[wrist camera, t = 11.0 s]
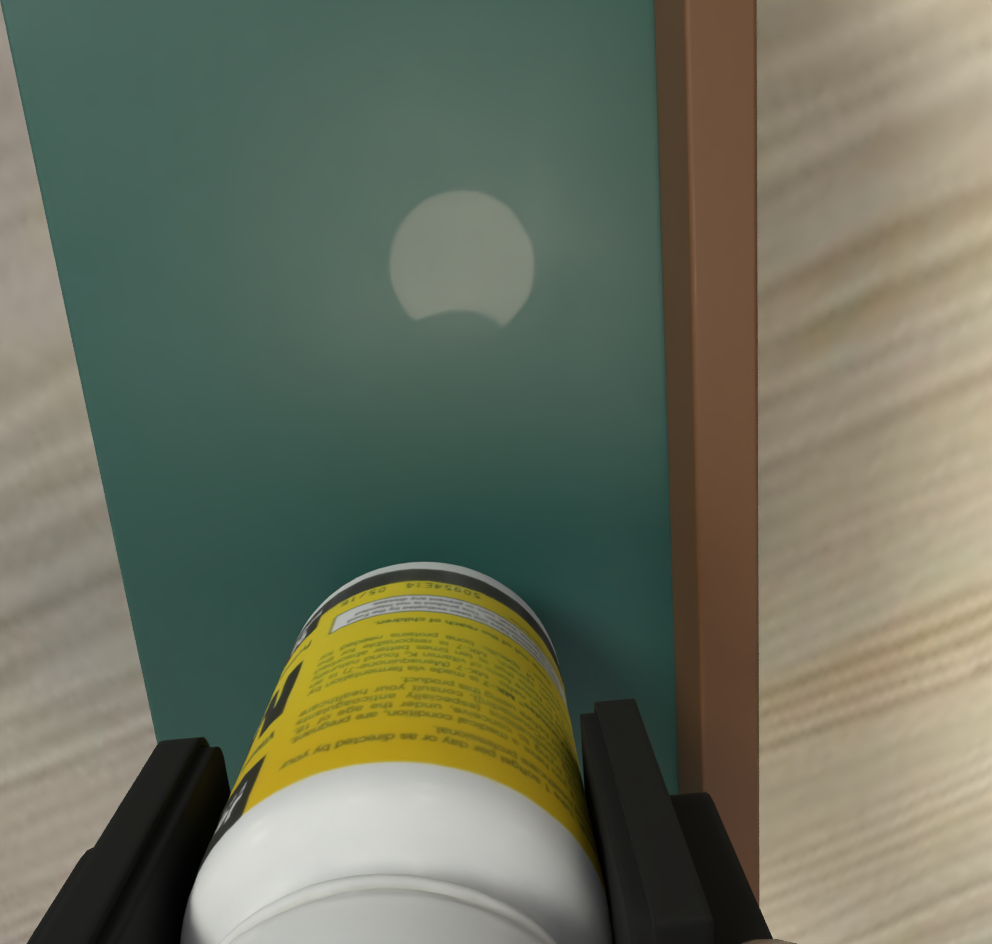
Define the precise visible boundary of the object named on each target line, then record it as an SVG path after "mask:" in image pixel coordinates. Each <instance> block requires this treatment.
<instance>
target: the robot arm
mask: <svg viewBox="0 0 992 944" xmlns="http://www.w3.org/2000/svg"><path fill="white" fill-rule="evenodd" d="M580 728H581V744H582V759H583V775H584V790H585V795H586V800H587V805H588V810H589V814H590V819H591V824H592V828H593V833H594V837H595V842H596V847H597V851H598V856H599V860H600V865H601V869H602V874H603V879H604V883H605V888H606V895H607V901H608V907H609V914H610V920H611V927H612V939H613V944H796V943H792V942H787V941H783V940H778V939H773V938H772V936H771V933H770V931H769V929H768V926H767V924H766V922H765V920H764V917H763V915H762V913H761V910H760V908H759V906H758V903H757V901H756V899H755V896H754V894H753V892H752V889H751V887H750V885H749V882H748V880H747V878H746V875H745V873H744V871H743V868H742V866H741V864H740V861H739V859H738V857H737V855H736V852H735V850H734V848H733V845H732V843H731V841H730V838H729V836H728V834H727V831H726V829H725V827H724V824H723V822H722V820H721V817H720V815H719V813H718V810H717V808H716V806H715V803H714V801H713V799H712V798H711V796H710V794H708V793H707V792H699V793H688V794H677V795H669V793H668V791H667V788H666V785H665V782H664V779H663V776H662V774H661V771H660V768H659V765H658V762H657V760H656V757H655V754H654V751H653V748H652V746H651V743H650V740H649V737H648V734H647V731H646V729H645V726H644V723H643V720H642V717H641V715H640V712H639V709H638V706H637V703H636V701H635V699H633V698H632V699H621V700H609V701H598V702H594V713H585V714H580ZM230 794H231V792H230V787H229V781H228V776H227V771H226V765H225V760H224V756H223V752H222V750H221V748H220V747H218V746H216V747H210V746H209V743H208V741H207V739H206V738H204V737H196V738H184V739H173V740H164V741H160V742H159V744H158V745H157V746H156V748H155V749H154V751H153V753H152V754H151V756H150V757H149V759H148V761H147V762H146V764H145V765H144V767H143V769H142V770H141V772H140V774H139V775H138V777H137V778H136V780H135V782H134V783H133V785H132V786H131V788H130V790H129V791H128V793H127V795H126V796H125V798H124V799H123V801H122V803H121V804H120V806H119V807H118V809H117V811H116V812H115V814H114V816H113V817H112V819H111V820H110V822H109V824H108V825H107V827H106V828H105V830H104V832H103V833H102V835H101V837H100V838H99V840H98V841H97V843H96V845H95V846H94V848H91V849H89V850H87V851H86V853H85V854H84V855H83V856H82V857H81V859H80V860H79V861H78V863H77V865H76V866H75V868H74V869H73V871H72V873H71V874H70V876H69V877H68V879H67V881H66V882H65V884H64V885H63V887H62V888H61V890H60V892H59V893H58V895H57V896H56V898H55V900H54V901H53V903H52V904H51V906H50V908H49V909H48V911H47V912H46V914H45V916H44V917H43V919H42V920H41V922H40V923H39V925H38V927H37V928H36V930H35V931H34V933H33V935H32V936H31V938H30V939H29V941H28V943H27V944H180V940H181V930H182V924H183V919H184V914H185V910H186V906H187V902H188V898H189V895H190V893H191V890H192V888H193V885H194V881H195V878H196V874H197V871H198V868H199V866H200V864H201V861H202V859H203V857H204V855H205V852H206V850H207V847H208V845H209V843H210V841H211V839H212V837H213V835H214V833H215V830H216V828H217V825H218V822H219V819H220V816H221V813H222V811H223V809H224V807H225V805H226V803H227V801H228V799H229V797H230Z"/></svg>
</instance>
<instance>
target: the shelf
mask: <svg viewBox="0 0 992 944" xmlns="http://www.w3.org/2000/svg"><path fill="white" fill-rule="evenodd" d="M0 1H1V6H2V11H3V15H4V20H5V25H6V30H7V34H8V39H9V44H10V49H11V53H12V58H13V63H14V68H15V72H16V77H17V82H18V86H19V91H20V96H21V101H22V105H23V110H24V115H25V120H26V124H27V129H28V134H29V138H30V143H31V148H32V153H33V157H34V162H35V167H36V172H37V176H38V181H39V186H40V190H41V195H42V200H43V205H44V209H45V214H46V219H47V224H48V228H49V233H50V238H51V242H52V247H53V252H54V257H55V261H56V266H57V271H58V276H59V280H60V285H61V290H62V295H63V299H64V304H65V309H66V313H67V318H68V323H69V328H70V332H71V337H72V342H73V347H74V351H75V356H76V361H77V365H78V370H79V375H80V380H81V384H82V389H83V394H84V399H85V403H86V408H87V413H88V417H89V422H90V427H91V432H92V436H93V441H94V446H95V451H96V455H97V460H98V465H99V469H100V474H101V479H102V484H103V488H104V493H105V498H106V503H107V507H108V512H109V517H110V522H111V526H112V531H113V536H114V540H115V545H116V550H117V555H118V559H119V564H120V569H121V574H122V578H123V583H124V588H125V592H126V597H127V602H128V607H129V611H130V616H131V621H132V626H133V630H134V635H135V640H136V644H137V649H138V654H139V659H140V663H141V668H142V673H143V678H144V682H145V687H146V692H147V696H148V701H149V706H150V711H151V715H152V720H153V725H154V730H155V734H156V739H157V744H159V742H160V741H164V740H173V739H184V738H196V737H204V738H206V739H207V741H208V743H209V746H210V747H216V746H218V747H220V748H221V750H222V752H223V756H224V760H225V765H226V771H227V776H228V781H229V787H230V792H232V790H233V787H234V785H235V783H236V781H237V779H238V776H239V774H240V772H241V770H242V766H243V764H244V762H245V759H246V757H247V754H248V751H249V749H250V747H251V743H252V740H253V737H254V735H255V733H256V732H257V730H258V728H259V726H260V724H261V721H262V719H263V717H264V714H265V712H266V710H267V707H268V705H269V703H270V701H271V698H272V696H273V693H274V691H275V689H276V687H277V684H278V682H279V680H280V676H281V674H282V672H283V669H284V666H285V664H286V661H287V658H288V656H289V655H290V652H291V650H292V648H293V645H294V643H295V642H296V640H297V638H298V636H299V634H300V632H301V631H302V629H303V627H304V626H305V624H306V623H307V621H308V620H309V618H310V617H311V615H312V614H313V613H314V612H315V611H316V610H317V608H318V607H319V606H320V605H321V604H322V603H323V602H324V601H325V600H326V599H327V598H328V597H329V596H330V595H332V594H333V593H334V592H336V591H337V590H338V589H340V588H341V587H342V586H344V585H345V584H347V583H349V582H350V581H352V580H354V579H356V578H357V577H360V576H362V575H364V574H366V573H369V572H371V571H374V570H377V569H380V568H384V567H388V566H392V565H397V564H403V563H411V562H439V563H447V564H453V565H458V566H462V567H466V568H469V569H472V570H475V571H478V572H480V573H482V574H485V575H487V576H489V577H491V578H493V579H495V580H497V581H498V582H500V583H501V584H503V585H505V586H506V587H508V588H509V589H511V590H512V591H513V592H514V593H516V594H517V595H518V596H519V597H520V598H521V599H522V600H523V601H524V602H525V603H526V604H527V605H528V606H529V607H530V608H531V609H532V610H533V612H534V613H535V614H536V616H537V617H538V618H539V620H540V621H541V623H542V624H543V626H544V628H545V630H546V632H547V633H548V635H549V637H550V640H551V642H552V645H553V647H554V649H555V652H556V656H557V659H558V663H559V667H560V671H561V676H562V681H563V685H564V690H565V695H566V701H567V707H568V712H569V716H570V721H571V726H572V732H573V737H574V742H575V747H576V752H577V757H578V762H579V767H580V772H581V776H582V781H583V786H584V775H583V759H582V744H581V728H580V714H585V713H594V702H598V701H609V700H621V699H632V698H633V699H635V701H636V703H637V706H638V709H639V712H640V715H641V717H642V720H643V723H644V726H645V729H646V731H647V734H648V737H649V740H650V743H651V746H652V748H653V751H654V754H655V757H656V760H657V762H658V765H659V768H660V771H661V774H662V776H663V779H664V782H665V785H666V788H667V791H668V793H669V795H677V794H688V793H699V792H707V793H708V794H710V796H711V798H712V799H713V801H714V803H715V806H716V808H717V810H718V813H719V815H720V817H721V820H722V822H723V824H724V827H725V829H726V831H727V834H728V836H729V838H730V841H731V843H732V845H733V848H734V850H735V852H736V855H737V857H738V859H739V861H740V864H741V866H742V868H743V871H744V873H745V875H746V878H747V880H748V882H749V885H750V887H751V889H752V892H753V894H754V896H755V899H756V901H757V903H758V906H759V635H758V314H757V0H0ZM584 791H585V790H584Z"/></svg>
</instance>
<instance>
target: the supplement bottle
mask: <svg viewBox="0 0 992 944" xmlns="http://www.w3.org/2000/svg"><path fill="white" fill-rule="evenodd" d="M180 944H613V939H612V927H611V920H610V914H609V907H608V901H607V895H606V888H605V883H604V879H603V874H602V869H601V865H600V860H599V856H598V851H597V847H596V842H595V837H594V833H593V828H592V824H591V819H590V814H589V810H588V805H587V800H586V795H585V791H584V786H583V781H582V776H581V772H580V767H579V762H578V757H577V752H576V747H575V742H574V737H573V732H572V726H571V721H570V716H569V712H568V707H567V701H566V695H565V690H564V685H563V681H562V676H561V671H560V667H559V663H558V659H557V656H556V652H555V649H554V647H553V645H552V642H551V640H550V637H549V635H548V633H547V632H546V630H545V628H544V626H543V624H542V623H541V621H540V620H539V618H538V617H537V616H536V614H535V613H534V612H533V610H532V609H531V608H530V607H529V606H528V605H527V604H526V603H525V602H524V601H523V600H522V599H521V598H520V597H519V596H518V595H517V594H516V593H514V592H513V591H512V590H511V589H509V588H508V587H506V586H505V585H503V584H501V583H500V582H498V581H497V580H495V579H493V578H491V577H489V576H487V575H485V574H482V573H480V572H478V571H475V570H472V569H469V568H466V567H462V566H458V565H453V564H447V563H439V562H411V563H403V564H397V565H392V566H388V567H384V568H380V569H377V570H374V571H371V572H369V573H366V574H364V575H362V576H360V577H357V578H356V579H354V580H352V581H350V582H349V583H347V584H345V585H344V586H342V587H341V588H340V589H338V590H337V591H336V592H334V593H333V594H332V595H330V596H329V597H328V598H327V599H326V600H325V601H324V602H323V603H322V604H321V605H320V606H319V607H318V608H317V610H316V611H315V612H314V613H313V614H312V615H311V617H310V618H309V620H308V621H307V623H306V624H305V626H304V627H303V629H302V631H301V632H300V634H299V636H298V638H297V640H296V642H295V643H294V645H293V648H292V650H291V652H290V655H289V656H288V658H287V661H286V664H285V666H284V669H283V672H282V674H281V676H280V680H279V682H278V684H277V687H276V689H275V691H274V693H273V696H272V698H271V701H270V703H269V705H268V707H267V710H266V712H265V714H264V717H263V719H262V721H261V724H260V726H259V728H258V730H257V732H256V733H255V735H254V737H253V740H252V743H251V747H250V749H249V751H248V754H247V757H246V759H245V762H244V764H243V766H242V770H241V772H240V774H239V776H238V779H237V781H236V783H235V785H234V787H233V790H232V792H231V794H230V797H229V799H228V801H227V803H226V805H225V807H224V809H223V811H222V813H221V816H220V819H219V822H218V825H217V828H216V830H215V833H214V835H213V837H212V839H211V841H210V843H209V845H208V847H207V850H206V852H205V855H204V857H203V859H202V861H201V864H200V866H199V868H198V871H197V874H196V878H195V881H194V885H193V888H192V890H191V893H190V895H189V898H188V902H187V906H186V910H185V914H184V919H183V924H182V930H181V940H180Z"/></svg>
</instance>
